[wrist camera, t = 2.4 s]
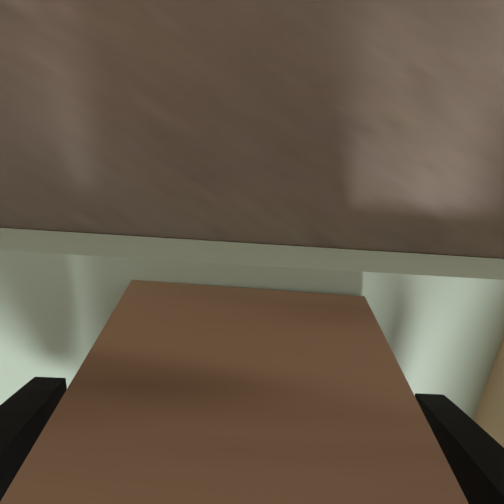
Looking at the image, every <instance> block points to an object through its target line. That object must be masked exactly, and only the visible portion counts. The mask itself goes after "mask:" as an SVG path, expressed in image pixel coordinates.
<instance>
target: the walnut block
mask: <svg viewBox="0 0 504 504" xmlns="http://www.w3.org/2000/svg"><path fill="white" fill-rule="evenodd" d="M0 504H469V503H468V501H467V499H466V497H465V495H464V493H463V491H462V489H461V487H460V485H459V483H458V481H457V479H456V477H455V475H454V473H453V471H452V469H451V467H450V465H449V463H448V461H447V459H446V457H445V455H444V453H443V451H442V449H441V447H440V445H439V443H438V441H437V439H436V437H435V435H434V433H433V431H432V429H431V427H430V425H429V423H428V422H427V420H426V418H425V416H424V414H423V412H422V410H421V408H420V406H419V404H418V402H417V400H416V398H415V396H414V394H413V392H412V390H411V388H410V386H409V384H408V382H407V380H406V378H405V376H404V374H403V372H402V370H401V368H400V366H399V364H398V362H397V360H396V358H395V356H394V354H393V352H392V350H391V348H390V346H389V344H388V342H387V340H386V338H385V336H384V334H383V332H382V330H381V328H380V326H379V324H378V322H377V320H376V318H375V316H374V314H373V312H372V310H371V308H370V306H369V304H368V302H367V300H366V298H365V296H354V295H339V294H325V293H311V292H297V291H283V290H269V289H255V288H241V287H226V286H212V285H198V284H184V283H170V282H156V281H142V280H131V282H130V284H129V285H128V287H127V289H126V290H125V292H124V294H123V295H122V297H121V299H120V300H119V302H118V304H117V306H116V307H115V309H114V311H113V312H112V314H111V316H110V317H109V319H108V321H107V322H106V324H105V326H104V327H103V329H102V331H101V333H100V334H99V336H98V338H97V339H96V341H95V343H94V344H93V346H92V348H91V349H90V351H89V353H88V354H87V356H86V358H85V360H84V361H83V363H82V365H81V366H80V368H79V370H78V371H77V373H76V375H75V376H74V378H73V380H72V381H71V383H70V385H69V387H68V388H67V390H66V392H65V393H64V395H63V397H62V398H61V400H60V402H59V403H58V405H57V407H56V408H55V410H54V412H53V414H52V415H51V417H50V419H49V420H48V422H47V424H46V425H45V427H44V429H43V430H42V432H41V434H40V435H39V437H38V439H37V441H36V442H35V444H34V446H33V447H32V449H31V451H30V452H29V454H28V456H27V457H26V459H25V461H24V462H23V464H22V466H21V468H20V469H19V471H18V473H17V474H16V476H15V478H14V479H13V481H12V483H11V484H10V486H9V488H8V489H7V491H6V493H5V495H4V496H3V498H2V500H1V501H0Z"/></svg>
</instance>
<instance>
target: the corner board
mask: <svg viewBox="0 0 504 504" xmlns="http://www.w3.org/2000/svg"><path fill="white" fill-rule="evenodd" d="M131 280H142V281H156V282H170V283H184V284H198V285H212V286H226V287H241V288H255V289H269V290H283V291H297V292H311V293H325V294H339V295H354V296H365V298H366V300H367V302H368V304H369V306H370V308H371V310H372V312H373V314H374V316H375V318H376V320H377V322H378V324H379V326H380V328H381V330H382V332H383V334H384V336H385V338H386V340H387V342H388V344H389V346H390V348H391V350H392V352H393V354H394V356H395V358H396V360H397V362H398V364H399V366H400V368H401V370H402V372H403V374H404V376H405V378H406V380H407V382H408V384H409V386H410V388H411V390H412V392H413V394H414V396H415V393H419V394H442V395H445V396H446V397H447V398H448V399H450V400H451V401H452V402H453V403H454V404H455V405H457V406H458V407H459V408H460V409H461V410H462V411H463V412H465V413H466V414H467V415H468V416H469V417H470V418H471V419H472V420H474V421H475V422H476V423H477V424H478V425H479V426H480V427H481V428H482V429H484V430H485V431H486V432H487V433H488V434H489V435H490V436H491V437H492V438H494V439H495V440H496V441H497V442H498V443H499V444H500V445H501V446H502V447H504V259H498V258H481V257H465V256H449V255H433V254H417V253H400V252H384V251H368V250H352V249H336V248H319V247H303V246H287V245H271V244H255V243H238V242H222V241H206V240H190V239H174V238H157V237H141V236H125V235H109V234H93V233H76V232H60V231H44V230H28V229H12V228H0V405H1V404H2V403H3V402H5V401H6V400H7V399H8V398H9V397H11V396H12V395H13V394H14V393H15V392H17V391H18V390H19V389H20V388H22V387H23V386H24V385H25V384H26V383H28V382H29V381H30V380H31V379H33V378H34V377H54V378H66V385H67V388H68V387H69V385H70V383H71V381H72V380H73V378H74V376H75V375H76V373H77V371H78V370H79V368H80V366H81V365H82V363H83V361H84V360H85V358H86V356H87V354H88V353H89V351H90V349H91V348H92V346H93V344H94V343H95V341H96V339H97V338H98V336H99V334H100V333H101V331H102V329H103V327H104V326H105V324H106V322H107V321H108V319H109V317H110V316H111V314H112V312H113V311H114V309H115V307H116V306H117V304H118V302H119V300H120V299H121V297H122V295H123V294H124V292H125V290H126V289H127V287H128V285H129V284H130V282H131Z"/></svg>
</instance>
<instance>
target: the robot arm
mask: <svg viewBox="0 0 504 504" xmlns="http://www.w3.org/2000/svg"><path fill="white" fill-rule="evenodd" d="M66 390H67V385H66V378H54V377H34V378H33V379H31V380H30V381H29V382H28V383H26V384H25V385H24V386H23V387H22V388H20V389H19V390H18V391H17V392H15V393H14V394H13V395H12V396H11V397H9V398H8V399H7V400H6V401H5V402H3V403H2V404H1V405H0V501H1V500H2V498H3V496H4V495H5V493H6V491H7V489H8V488H9V486H10V484H11V483H12V481H13V479H14V478H15V476H16V474H17V473H18V471H19V469H20V468H21V466H22V464H23V462H24V461H25V459H26V457H27V456H28V454H29V452H30V451H31V449H32V447H33V446H34V444H35V442H36V441H37V439H38V437H39V435H40V434H41V432H42V430H43V429H44V427H45V425H46V424H47V422H48V420H49V419H50V417H51V415H52V414H53V412H54V410H55V408H56V407H57V405H58V403H59V402H60V400H61V398H62V397H63V395H64V393H65V392H66ZM415 398H416V400H417V402H418V404H419V406H420V408H421V410H422V412H423V414H424V416H425V418H426V420H427V422H428V423H429V425H430V427H431V429H432V431H433V433H434V435H435V437H436V439H437V441H438V443H439V445H440V447H441V449H442V451H443V453H444V455H445V457H446V459H447V461H448V463H449V465H450V467H451V469H452V471H453V473H454V475H455V477H456V479H457V481H458V483H459V485H460V487H461V489H462V491H463V493H464V495H465V497H466V499H467V501H468V503H469V504H504V447H502V446H501V445H500V444H499V443H498V442H497V441H496V440H495V439H494V438H492V437H491V436H490V435H489V434H488V433H487V432H486V431H485V430H484V429H482V428H481V427H480V426H479V425H478V424H477V423H476V422H475V421H474V420H472V419H471V418H470V417H469V416H468V415H467V414H466V413H465V412H463V411H462V410H461V409H460V408H459V407H458V406H457V405H455V404H454V403H453V402H452V401H451V400H450V399H448V398H447V397H446V396H445V395H442V394H419V393H415Z"/></svg>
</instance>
